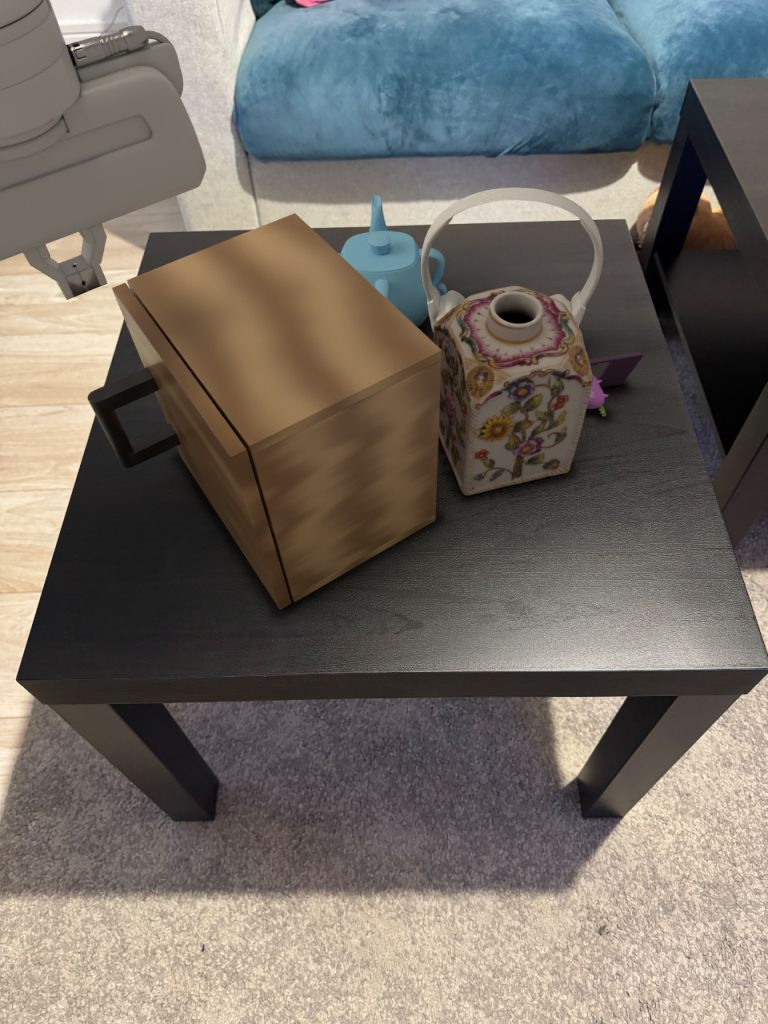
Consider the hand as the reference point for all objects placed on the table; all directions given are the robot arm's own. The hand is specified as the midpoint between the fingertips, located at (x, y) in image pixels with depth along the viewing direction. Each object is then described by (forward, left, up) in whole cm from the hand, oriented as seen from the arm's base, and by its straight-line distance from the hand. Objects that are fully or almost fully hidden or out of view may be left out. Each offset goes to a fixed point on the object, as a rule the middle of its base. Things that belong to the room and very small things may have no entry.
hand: (84, 287), depth 50 cm
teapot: (+33, +15, -28) cm, 46 cm away
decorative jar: (+31, -10, -28) cm, 43 cm away
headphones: (+40, +1, -28) cm, 49 cm away
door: (+1, -3, -28) cm, 28 cm away
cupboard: (+12, -3, -28) cm, 31 cm away
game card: (+43, -11, -28) cm, 53 cm away
